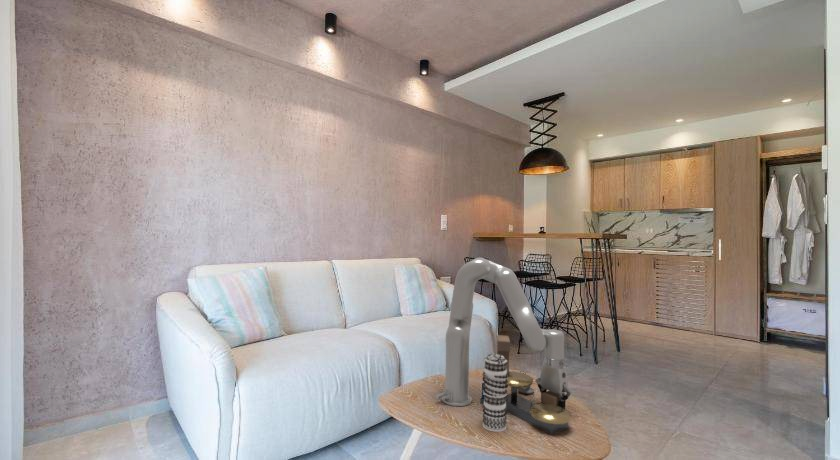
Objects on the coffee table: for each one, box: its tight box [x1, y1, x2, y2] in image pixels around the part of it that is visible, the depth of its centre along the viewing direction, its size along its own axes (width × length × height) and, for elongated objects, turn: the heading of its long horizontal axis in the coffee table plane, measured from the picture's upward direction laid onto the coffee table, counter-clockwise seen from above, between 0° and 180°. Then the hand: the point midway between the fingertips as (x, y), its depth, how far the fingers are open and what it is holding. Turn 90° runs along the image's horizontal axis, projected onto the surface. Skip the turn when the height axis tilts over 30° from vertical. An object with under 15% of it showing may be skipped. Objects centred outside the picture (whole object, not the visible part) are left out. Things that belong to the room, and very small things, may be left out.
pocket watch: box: [517, 370, 535, 395], centre depth 168 cm, size 8×8×10 cm
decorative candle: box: [481, 353, 509, 433], centre depth 137 cm, size 9×9×25 cm
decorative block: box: [496, 334, 511, 372], centre depth 181 cm, size 11×6×20 cm, turn 170°
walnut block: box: [541, 390, 563, 406], centre depth 152 cm, size 6×6×6 cm
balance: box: [506, 370, 572, 436], centre depth 145 cm, size 14×31×12 cm, turn 34°
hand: (552, 406), depth 152 cm, fingers open, 7 cm apart
